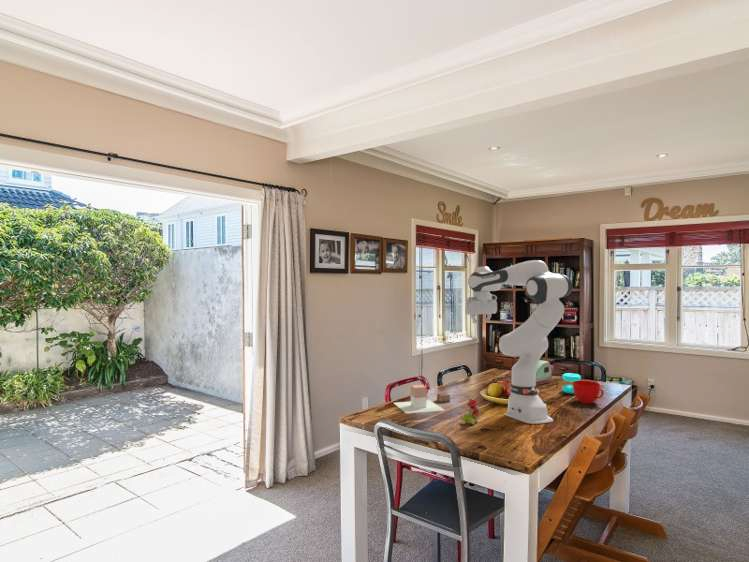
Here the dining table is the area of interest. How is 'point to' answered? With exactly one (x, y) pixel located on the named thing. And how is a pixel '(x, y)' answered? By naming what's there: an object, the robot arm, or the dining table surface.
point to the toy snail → (543, 372)
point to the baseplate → (409, 409)
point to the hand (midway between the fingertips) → (481, 322)
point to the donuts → (570, 378)
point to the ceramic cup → (587, 391)
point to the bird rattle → (472, 412)
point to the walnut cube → (443, 397)
